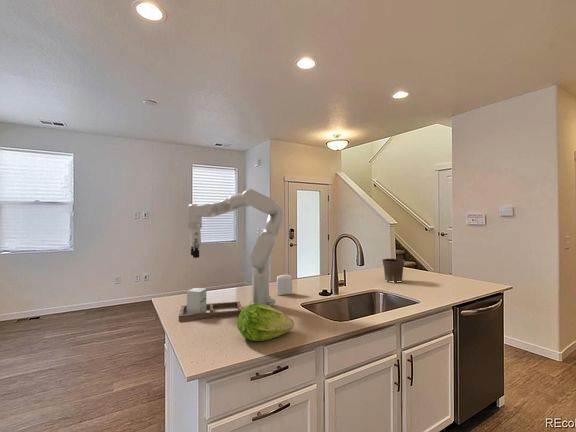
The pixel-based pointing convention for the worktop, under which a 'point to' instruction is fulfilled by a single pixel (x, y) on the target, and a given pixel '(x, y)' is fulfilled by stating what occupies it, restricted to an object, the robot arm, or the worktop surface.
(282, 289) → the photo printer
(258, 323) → the lettuce
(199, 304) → the supplement box
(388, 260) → the plant pot
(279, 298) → the worktop surface
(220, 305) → the tray
